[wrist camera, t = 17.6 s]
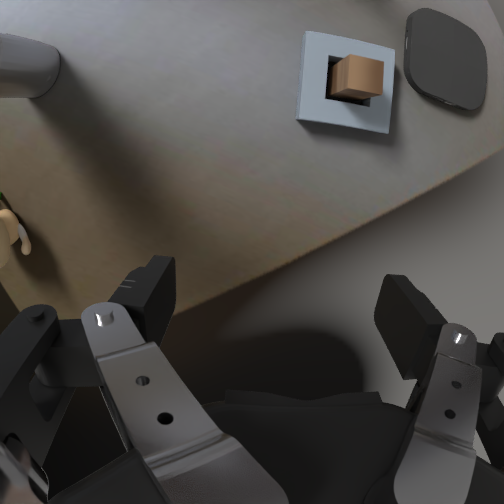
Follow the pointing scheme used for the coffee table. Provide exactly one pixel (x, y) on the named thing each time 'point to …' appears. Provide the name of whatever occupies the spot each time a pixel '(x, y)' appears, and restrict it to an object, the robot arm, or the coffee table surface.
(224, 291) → the coffee table surface
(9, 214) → the kitten
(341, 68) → the peg
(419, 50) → the media streaming box
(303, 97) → the socket
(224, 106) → the coffee table surface
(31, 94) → the robot arm
